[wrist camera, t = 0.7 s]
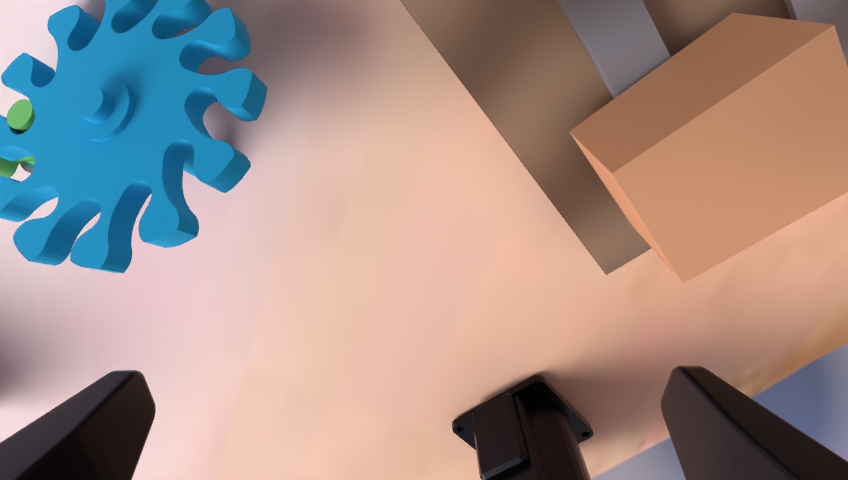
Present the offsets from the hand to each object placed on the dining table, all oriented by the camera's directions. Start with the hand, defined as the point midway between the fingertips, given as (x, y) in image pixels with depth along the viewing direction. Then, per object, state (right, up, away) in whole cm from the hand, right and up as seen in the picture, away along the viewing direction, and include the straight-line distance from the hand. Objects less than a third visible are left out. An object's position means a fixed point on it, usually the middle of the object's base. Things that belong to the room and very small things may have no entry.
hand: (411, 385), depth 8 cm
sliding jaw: (+11, +8, +8) cm, 16 cm away
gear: (-10, +8, +10) cm, 17 cm away
